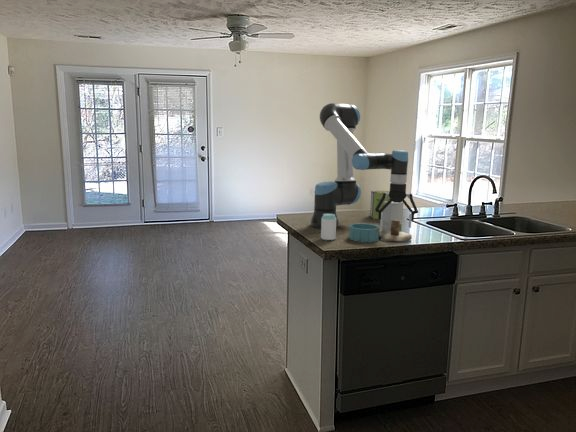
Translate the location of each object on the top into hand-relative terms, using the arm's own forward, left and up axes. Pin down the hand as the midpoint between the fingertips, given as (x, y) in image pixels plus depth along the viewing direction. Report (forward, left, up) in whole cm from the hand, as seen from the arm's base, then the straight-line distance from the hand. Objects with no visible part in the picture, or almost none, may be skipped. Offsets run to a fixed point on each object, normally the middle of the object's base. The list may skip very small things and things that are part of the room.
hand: (395, 226), depth 231 cm
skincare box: (0, +15, -6) cm, 16 cm away
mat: (0, 0, -6) cm, 6 cm away
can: (-32, -9, -6) cm, 34 cm away
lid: (0, 0, -5) cm, 5 cm away
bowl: (-15, -4, -6) cm, 17 cm away
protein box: (-1, +53, -6) cm, 53 cm away
